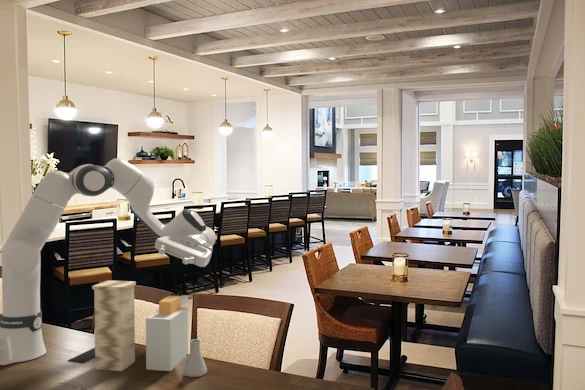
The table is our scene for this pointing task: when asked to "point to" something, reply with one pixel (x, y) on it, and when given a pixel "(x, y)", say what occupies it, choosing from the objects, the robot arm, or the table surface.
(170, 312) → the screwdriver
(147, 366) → the pale green block
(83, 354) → the smartphone
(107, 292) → the high stand
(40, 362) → the table surface
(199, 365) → the flask
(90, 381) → the table surface
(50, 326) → the table surface
